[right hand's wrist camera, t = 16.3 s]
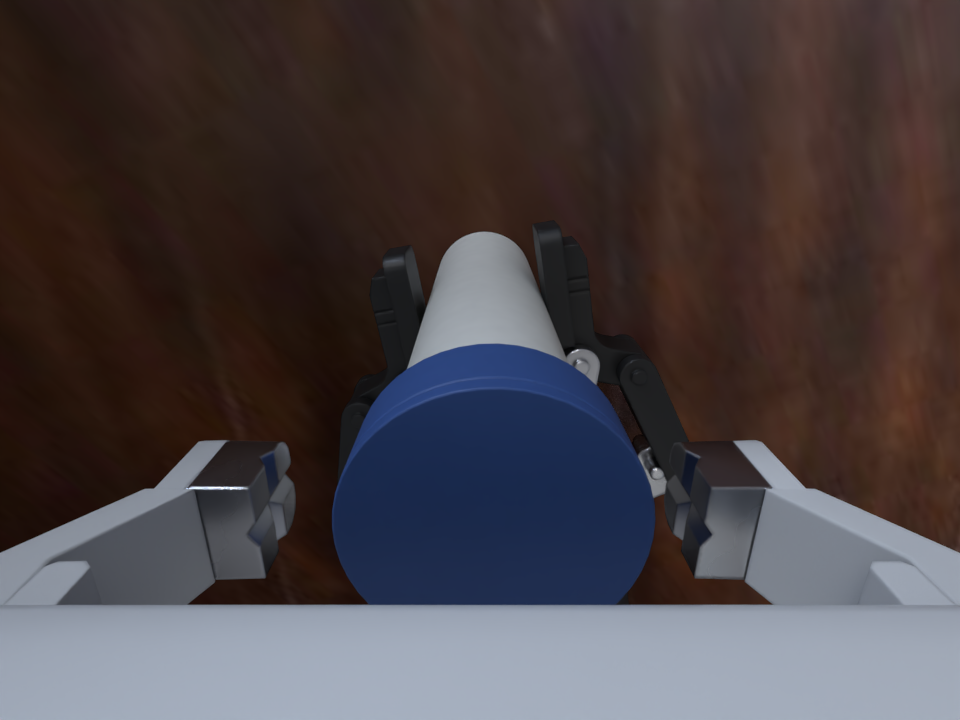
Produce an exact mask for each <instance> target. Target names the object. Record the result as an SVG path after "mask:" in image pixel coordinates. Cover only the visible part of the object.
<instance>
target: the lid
mask: <svg viewBox="0 0 960 720" xmlns="http://www.w3.org/2000/svg"><path fill="white" fill-rule="evenodd" d="M654 527H655V505H654V499H653V494H652V489H651V485H650V482H649V480H648V477H647V475H646V472H645V470H644V467H643V465H642V463H641V461H640V459H639V458H638V456H637V453H636V451H635V449H634V448H633V446H632V444H631V442H630V440H629V438H628V436H627V434H626V432H625V430H624V428H623V426H622V424H621V422H620V420H619V418H618V416H617V414H616V412H615V410H614V409H613V407H612V405H611V403H610V402H609V400H608V399H607V398H606V396H605V395H604V394H603V393H602V391H601V390H600V389H599V388H598V386H596V385H595V384H594V383H593V382H592V381H591V380H590V379H589V378H588V377H587V376H586V375H585V374H583V373H582V372H580V371H579V370H577V369H576V368H575V367H573V366H572V365H570V364H568V363H566V362H565V361H563V360H561V359H559V358H557V357H555V356H553V355H550V354H547V353H544V352H542V351H539V350H536V349H531V348H527V347H523V346H518V345H509V344H499V343H496V344H475V345H468V346H462V347H457V348H453V349H450V350H446V351H443V352H440V353H437V354H435V355H433V356H430V357H428V358H426V359H423V360H422V361H420V362H418V363H416V364H415V365H413V366H411V367H410V368H408V369H407V370H405V371H404V372H403V373H401V374H400V375H399V376H398V377H396V378H395V379H394V380H393V381H392V382H391V383H390V384H389V385H388V386H387V387H386V388H385V389H384V390H383V391H382V392H381V393H380V395H379V396H378V398H377V399H376V400H375V402H374V403H373V404H372V406H371V408H370V410H369V412H368V413H367V415H366V417H365V419H364V421H363V424H362V426H361V429H360V431H359V433H358V436H357V438H356V441H355V443H354V445H353V448H352V450H351V453H350V455H349V458H348V460H347V463H346V465H345V467H344V470H343V472H342V475H341V477H340V480H339V483H338V486H337V489H336V492H335V497H334V503H333V509H332V530H333V536H334V542H335V547H336V550H337V553H338V556H339V559H340V562H341V564H342V566H343V569H344V571H345V573H346V575H347V577H348V578H349V580H350V581H351V583H352V584H353V586H354V587H355V589H356V590H357V591H358V593H359V594H360V595H361V596H362V597H363V598H364V599H365V600H366V602H367V603H368V604H369V605H616V604H617V603H618V602H619V601H620V600H621V599H622V598H623V597H624V595H625V594H626V593H627V592H628V591H629V589H630V588H631V587H632V586H633V584H634V582H635V581H636V579H637V578H638V576H639V574H640V573H641V571H642V569H643V567H644V565H645V562H646V560H647V558H648V556H649V552H650V548H651V545H652V541H653V536H654Z"/></svg>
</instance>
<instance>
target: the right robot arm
mask: <svg viewBox="0 0 960 720" xmlns="http://www.w3.org/2000/svg"><path fill="white" fill-rule="evenodd" d="M290 464H291V460H290V455H289V449H288V446H287V445H286V444H285V443H284V442H273V441H229V440H215V441H200V442H198V443H197V444H196V445H195V446H194V447H193V448H192V449H191V450H190V451H189V452H188V454H187V455H186V456H185V457H184V458H183V459H182V460H181V461H180V462H179V463H178V464H177V465H176V466H175V467H174V468H173V469H172V470H171V471H170V472H169V474H168V475H167V476H166V477H165V478H164V479H163V480H162V481H161V482H160V483H159V484H158V485H157V486H156V487H155V488H154V489H144V490H141V491H139V492H137V493H134V494H132V495H130V496H128V497H125V498H123V499H121V500H119V501H116V502H114V503H112V504H110V505H107V506H105V507H103V508H101V509H98V510H96V511H94V512H92V513H89V514H87V515H85V516H82V517H80V518H78V519H76V520H73V521H71V522H69V523H67V524H64V525H62V526H60V527H58V528H55V529H53V530H51V531H49V532H46V533H44V534H42V535H39V536H37V537H35V538H33V539H30V540H28V541H26V542H24V543H21V544H19V545H17V546H15V547H12V548H10V549H8V550H6V551H3V552H1V553H0V720H960V553H959V552H956V551H954V550H952V549H950V548H947V547H945V546H943V545H940V544H938V543H936V542H934V541H931V540H929V539H927V538H925V537H922V536H920V535H918V534H916V533H913V532H911V531H909V530H907V529H904V528H902V527H900V526H898V525H895V524H893V523H891V522H889V521H886V520H884V519H882V518H880V517H877V516H875V515H873V514H871V513H868V512H866V511H864V510H862V509H859V508H857V507H855V506H853V505H850V504H848V503H846V502H844V501H841V500H839V499H837V498H835V497H832V496H830V495H828V494H825V493H823V492H821V491H819V490H816V489H806V488H805V487H804V486H803V485H802V484H801V483H800V482H799V481H798V480H797V479H796V478H795V477H794V476H793V475H792V473H791V472H790V471H789V470H788V469H787V468H786V467H785V466H784V465H783V464H782V463H781V462H780V461H779V460H778V459H777V458H776V457H775V456H774V454H773V453H772V452H771V451H770V450H769V449H768V448H767V447H766V446H765V445H764V444H763V443H762V442H760V441H757V440H745V441H703V442H677V443H674V445H673V447H672V449H671V454H670V460H669V464H670V465H671V467H672V469H673V471H674V472H675V474H674V475H673V476H672V478H671V479H670V480H669V481H668V482H667V483H666V488H665V496H664V502H665V514H666V518H667V522H668V525H669V527H670V529H671V531H672V533H673V534H674V535H675V536H677V537H678V538H680V539H681V540H683V542H682V549H681V552H682V554H683V556H684V558H685V560H686V562H687V564H688V566H689V568H690V570H691V572H692V574H693V576H694V578H705V579H742V580H745V582H746V583H747V584H748V585H749V586H751V587H752V588H753V589H754V590H756V591H757V592H758V593H759V594H761V595H762V596H763V597H764V598H766V599H767V600H768V601H769V602H771V603H772V604H773V605H187V604H188V603H189V602H191V601H192V600H193V599H195V598H196V597H197V596H198V595H200V594H201V593H202V592H203V591H205V590H206V589H207V588H208V587H210V586H211V585H212V584H213V583H215V580H218V579H254V578H266V576H267V574H268V572H269V570H270V568H271V566H272V564H273V562H274V560H275V558H276V556H277V554H278V552H279V549H278V542H277V540H279V539H280V538H282V537H283V536H285V535H286V534H287V533H288V531H289V529H290V527H291V525H292V522H293V517H294V512H295V502H296V494H295V487H294V483H293V482H292V481H291V480H290V479H289V478H288V476H287V475H286V474H285V472H286V471H287V469H288V467H289V465H290Z"/></svg>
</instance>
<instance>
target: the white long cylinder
mask: <svg viewBox="0 0 960 720" xmlns="http://www.w3.org/2000/svg"><path fill="white" fill-rule="evenodd" d="M496 343H499V344H509V345H518V346H523V347H527V348H531V349H536V350H539V351H542V352H544V353H547V354H550V355H553V356H555V357H557V358H559V359H561V360H563V361H565V362H566V363H568V361H567V359H566V356H565V354H564V351H563V349H562V346H561V344H560V341H559V339H558V336H557V334H556V331H555V329H554V326H553V324H552V321H551V319H550V316H549V314H548V311H547V309H546V306H545V304H544V301H543V299H542V296H541V294H540V291H539V289H538V286H537V284H536V281H535V279H534V276H533V274H532V271H531V269H530V266H529V264H528V261H527V259H526V257H525V255H524V253H523V252H522V250H521V249H520V248H519V247H518V246H517V245H516V244H515V243H514V242H513V241H511V240H510V239H509V238H507V237H505V236H503V235H500V234H497V233H492V232H477V233H472V234H469V235H466V236H464V237H462V238H460V239H459V240H457V241H456V242H455V243H454V244H453V245H451V247H450V248H449V249H448V250H447V251H446V253H445V255H444V256H443V258H442V260H441V263H440V267H439V270H438V273H437V276H436V279H435V282H434V285H433V289H432V292H431V295H430V298H429V301H428V304H427V308H426V311H425V314H424V317H423V320H422V323H421V327H420V330H419V333H418V336H417V339H416V342H415V345H414V349H413V352H412V355H411V358H410V361H409V364H408V368H410V367H411V366H413V365H415V364H416V363H418V362H420V361H422V360H423V359H426V358H428V357H430V356H433V355H435V354H437V353H440V352H443V351H446V350H450V349H453V348H457V347H462V346H468V345H475V344H496ZM408 368H407V369H408Z"/></svg>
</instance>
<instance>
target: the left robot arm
mask: <svg viewBox="0 0 960 720" xmlns="http://www.w3.org/2000/svg"><path fill="white" fill-rule="evenodd" d="M532 227H533V237H534V244H535V252H536V259H537V266H538V274H539V281H540V289H541V296H542V299H543V301H544V304H545V306H546V309H547V311H548V314H549V316H550V319H551V321H552V324H553V326H554V329H555V331H556V334H557V336H558V339H559V341H560V344H561V346H562V349H563V351H564V354H565V356H566V359H567V361H568V364H570V365H572V366H573V367H575V368H576V369H577V370H579V371H580V372H582V373H583V374H585V375H586V376H587V377H588V378H589V379H590V380H591V381H592V382H593V383H594V384H595V385H597V382H602V383H608V384H614V385H619V387H620V389H621V391H622V393H623V395H624V397H625V399H626V401H627V403H628V405H629V407H630V410H631V412H632V414H633V416H634V418H635V420H636V422H637V424H638V426H639V428H640V430H641V432H642V435H637V436H635V437H634V438H633V442H632V443H631V444H632V446H633V448H634V449H635V451H636V453H637V456H638V458H639V459H640V461H641V463H642V465H643V467H644V470H645V472H646V475H647V477H648V480H649V482H650V485H651V489H652V494H653V498H655V497H658V496H660V495H662V494H665V488H666V483H667V482H668V481H669V480H670V479H671V478H672V476H673V475H674V474H675V472H674V471H673V469H672V467H671V465H670V464H669V460H670V454H671V449H672V447H673V445H674V443H677V442H689V441H688V438H687V436H686V434H685V432H684V429H683V427H682V425H681V423H680V420H679V418H678V416H677V414H676V411H675V409H674V407H673V405H672V403H671V400H670V398H669V396H668V394H667V391H666V389H665V387H664V385H663V382H662V380H661V378H660V376H659V373H658V371H657V369H656V367H655V366H654V364H653V363H652V362H651V360H650V359H649V358H648V356H647V355H646V354H645V353H644V351H643V350H642V349H641V347H640V346H639V345H638V344H637V342H636V341H635V340H634V339H633V338H632V337H630V336H628V335H624V334H622V335H616V336H614V337H612V336H606V335H601V334H598V333H596V332H595V331H594V326H593V316H592V306H591V296H590V286H589V278H588V267H587V258H586V257H585V255H584V253H583V251H582V249H581V247H580V246H579V244H578V243H577V242H576V241H575V239H574V238H573V237H572V236H568V237H563V238H562V234H561V229H560V227H559V225H558V224H557V223H556V222H555V221H554V220H553V221H547V222H541V223H536V224H533V225H532ZM370 299H371V303H372V307H373V311H374V313H375V319H376V323H377V325H378V330H379V334H380V338H381V342H382V346H383V350H384V354H385V358H386V362H387V368H386V369H385V370H383V371H381V372H380V373H378V374H376V375H374V374H369V375H365V376H363V377H362V378H361V379H360V380H359V381H358V383H357V385H356V387H355V389H354V394H353V396H352V398H351V400H350V401H349V402H348V403H347V405H346V407H345V409H344V411H343V413H342V417H341V433H340V451H339V468H338V483H339V480H340V477H341V475H342V472H343V470H344V467H345V465H346V463H347V460H348V458H349V455H350V453H351V450H352V448H353V445H354V443H355V441H356V438H357V436H358V433H359V431H360V429H361V426H362V424H363V421H364V419H365V417H366V415H367V413H368V412H369V410H370V408H371V406H372V404H373V403H374V402H375V400H376V399H377V398H378V396H379V395H380V393H381V392H382V391H383V390H384V389H385V388H386V387H387V386H388V385H389V384H390V383H391V382H392V381H393V380H394V379H395V378H396V377H398V376H399V375H400V374H401V373H403V372H404V371H405V370H407V368H408V364H409V361H410V358H411V355H412V352H413V349H414V345H415V342H416V339H417V336H418V333H419V330H420V327H421V323H422V320H423V317H424V314H425V311H426V305H425V301H424V296H423V292H422V287H421V283H420V278H419V273H418V269H417V264H416V260H415V255H414V252H413V249H412V246H411V245H408V246H403V247H397V248H391V249H389V250H388V251H387V253H386V254H385V255H384V256H383V268H382V269H379V270H378V272H377V273H376V274H375V275H374V277H373V278H372V281H371V288H370ZM337 486H338V485H337ZM616 605H629V602H628V592H627V593H626V594H625V595H624V597H623V598H622V599H621V600H620V601H619V602H618V603H617V604H616Z"/></svg>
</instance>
